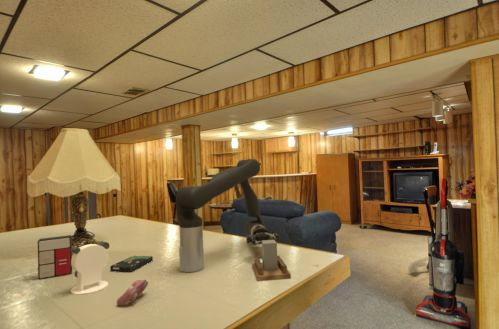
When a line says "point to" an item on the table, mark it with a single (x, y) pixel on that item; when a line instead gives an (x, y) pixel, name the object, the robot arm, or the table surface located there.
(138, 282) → the pink lumpy piece
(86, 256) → the white rounded upright piece
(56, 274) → the grey and red box
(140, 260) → the disk drive
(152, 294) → the table surface
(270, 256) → the block
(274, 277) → the walnut stand
